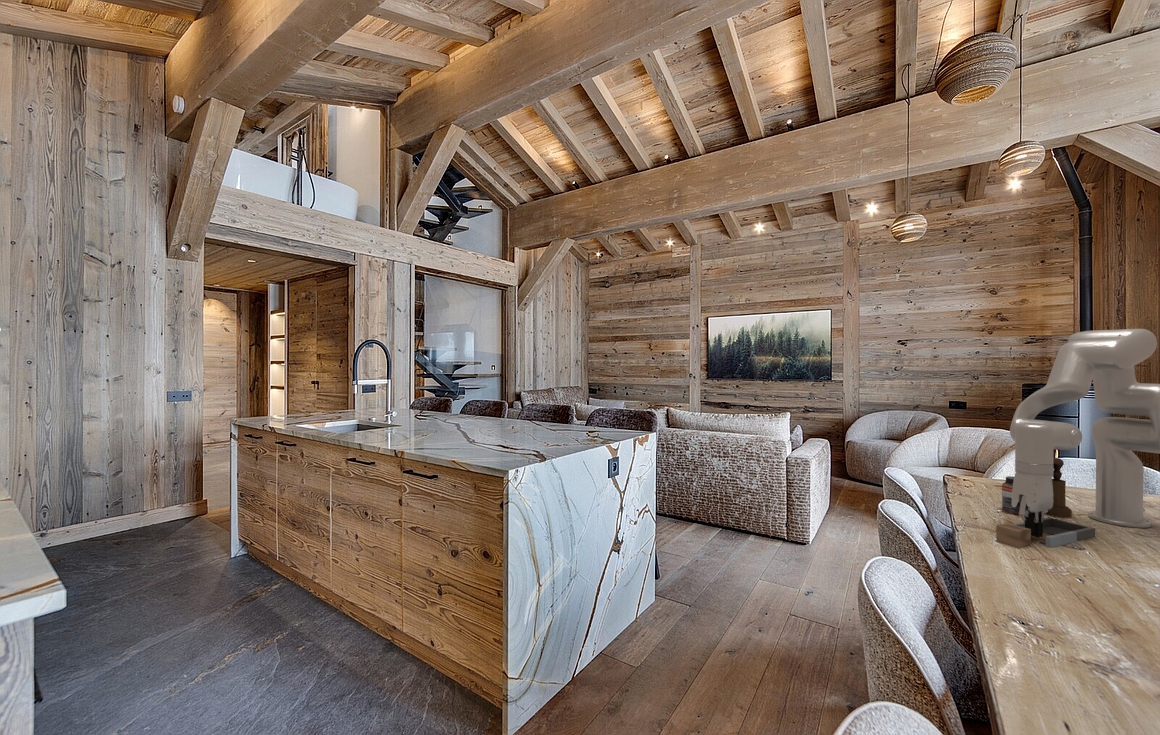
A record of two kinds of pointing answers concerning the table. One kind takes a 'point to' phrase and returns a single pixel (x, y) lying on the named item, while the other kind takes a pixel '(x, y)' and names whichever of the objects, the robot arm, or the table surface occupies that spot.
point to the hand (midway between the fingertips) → (1033, 535)
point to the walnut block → (1013, 535)
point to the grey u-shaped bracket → (1063, 531)
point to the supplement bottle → (1008, 496)
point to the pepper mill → (1059, 493)
